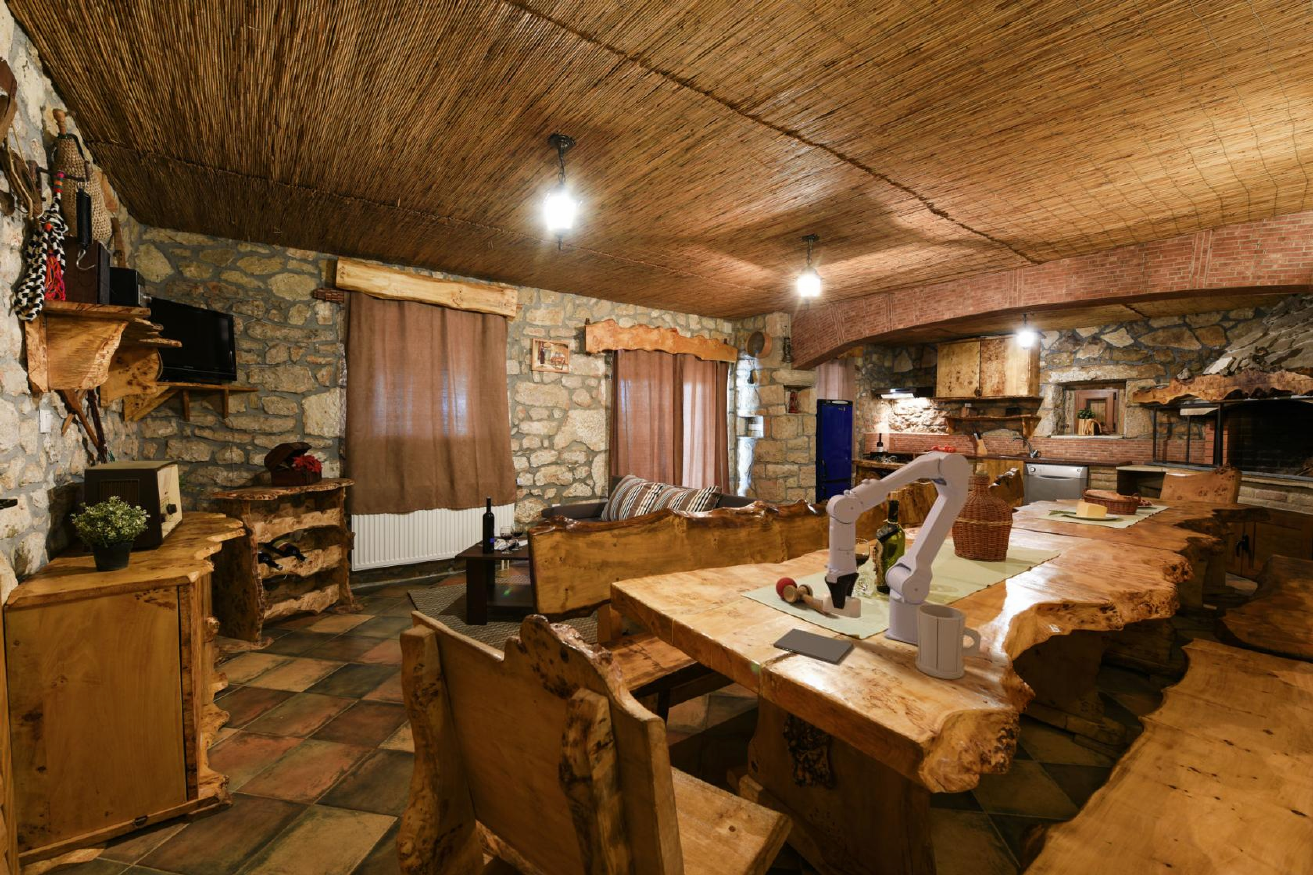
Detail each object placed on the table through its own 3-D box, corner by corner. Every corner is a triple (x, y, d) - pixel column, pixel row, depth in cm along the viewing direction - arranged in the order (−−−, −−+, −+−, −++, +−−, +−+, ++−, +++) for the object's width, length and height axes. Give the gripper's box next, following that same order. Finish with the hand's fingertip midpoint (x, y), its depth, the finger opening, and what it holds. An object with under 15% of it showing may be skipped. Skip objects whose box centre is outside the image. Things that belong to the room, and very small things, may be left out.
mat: (853, 646, 119) (853, 643, 119) (835, 664, 110) (836, 661, 110) (793, 630, 127) (793, 628, 127) (773, 646, 118) (773, 643, 118)
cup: (955, 659, 112) (956, 602, 112) (983, 680, 103) (985, 619, 103) (906, 659, 112) (907, 603, 111) (930, 681, 103) (931, 620, 102)
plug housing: (862, 614, 123) (862, 599, 123) (857, 619, 120) (858, 603, 120) (817, 604, 129) (818, 590, 129) (812, 608, 126) (812, 593, 126)
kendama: (839, 616, 140) (789, 588, 155) (839, 595, 138) (789, 569, 154) (818, 627, 136) (769, 597, 151) (817, 605, 135) (769, 577, 150)
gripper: (835, 539, 132) (835, 593, 132) (813, 551, 120) (813, 610, 121) (865, 543, 127) (864, 599, 128) (845, 556, 116) (844, 617, 116)
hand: (841, 605), depth 124 cm, fingers closed on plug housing, 4 cm apart
